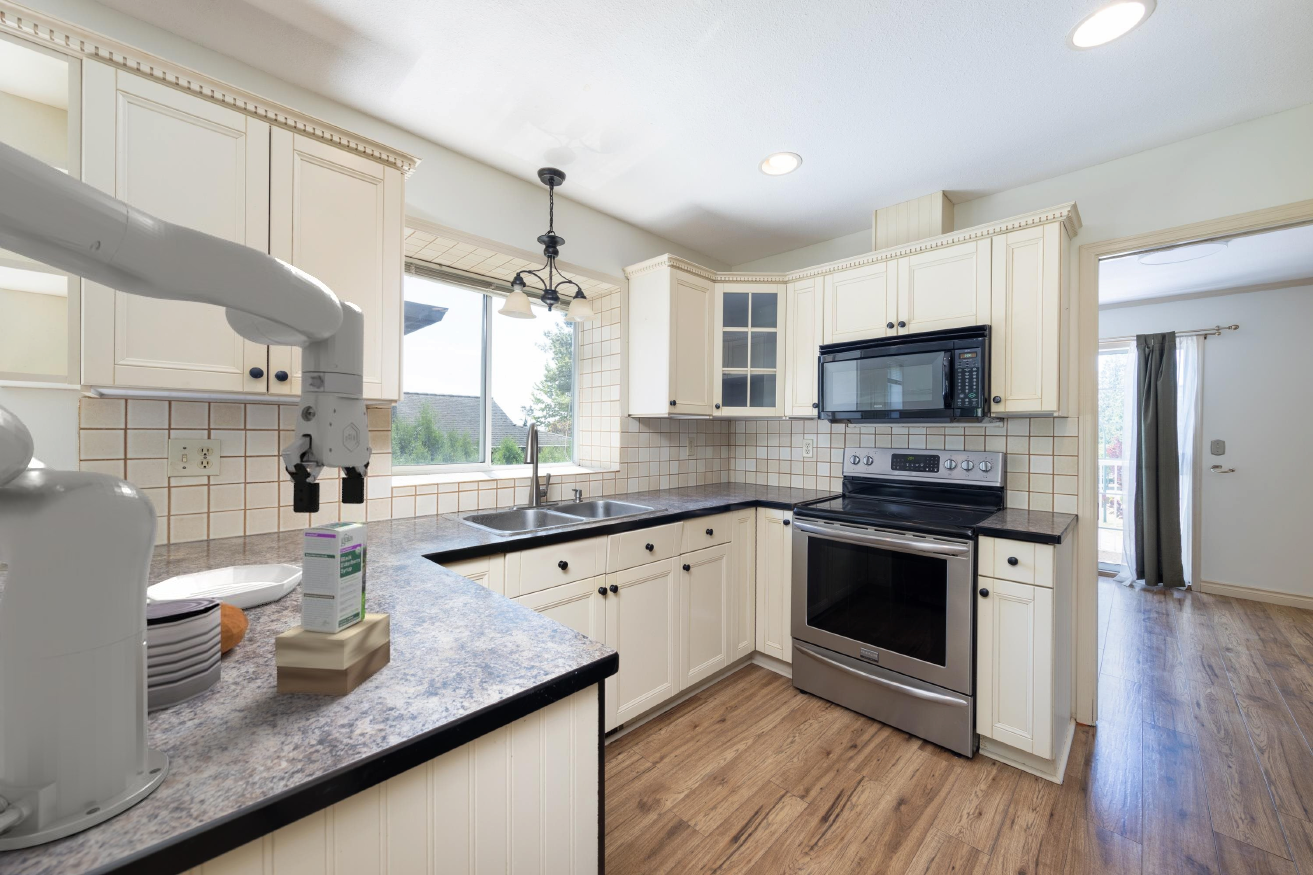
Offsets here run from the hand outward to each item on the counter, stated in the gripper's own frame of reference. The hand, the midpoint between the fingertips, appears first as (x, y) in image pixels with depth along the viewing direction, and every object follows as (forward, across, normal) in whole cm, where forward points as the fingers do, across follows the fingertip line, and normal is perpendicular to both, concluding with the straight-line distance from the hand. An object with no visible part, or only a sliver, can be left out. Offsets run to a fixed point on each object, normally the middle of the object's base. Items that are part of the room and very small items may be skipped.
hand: (331, 507), depth 73 cm
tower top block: (+21, +1, 0) cm, 21 cm away
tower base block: (+25, +1, 0) cm, 25 cm away
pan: (+25, +34, +46) cm, 62 cm away
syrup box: (+17, +1, 0) cm, 17 cm away
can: (+25, -4, +20) cm, 32 cm away
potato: (+25, +8, +25) cm, 36 cm away
